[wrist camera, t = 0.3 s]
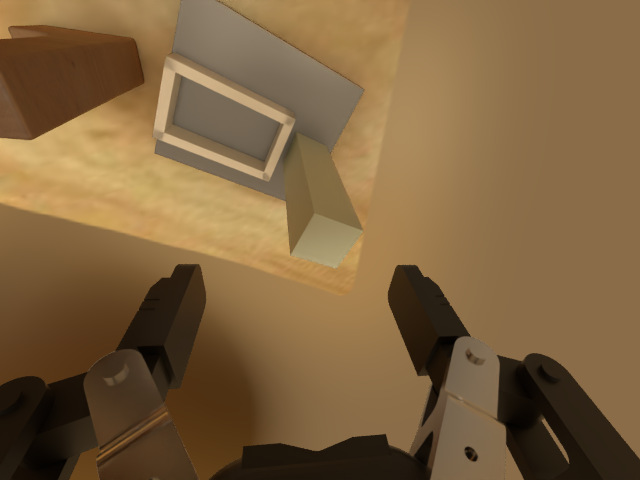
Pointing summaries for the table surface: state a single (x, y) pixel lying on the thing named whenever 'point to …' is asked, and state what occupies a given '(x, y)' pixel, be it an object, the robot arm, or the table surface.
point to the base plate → (243, 98)
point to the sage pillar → (317, 205)
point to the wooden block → (60, 76)
